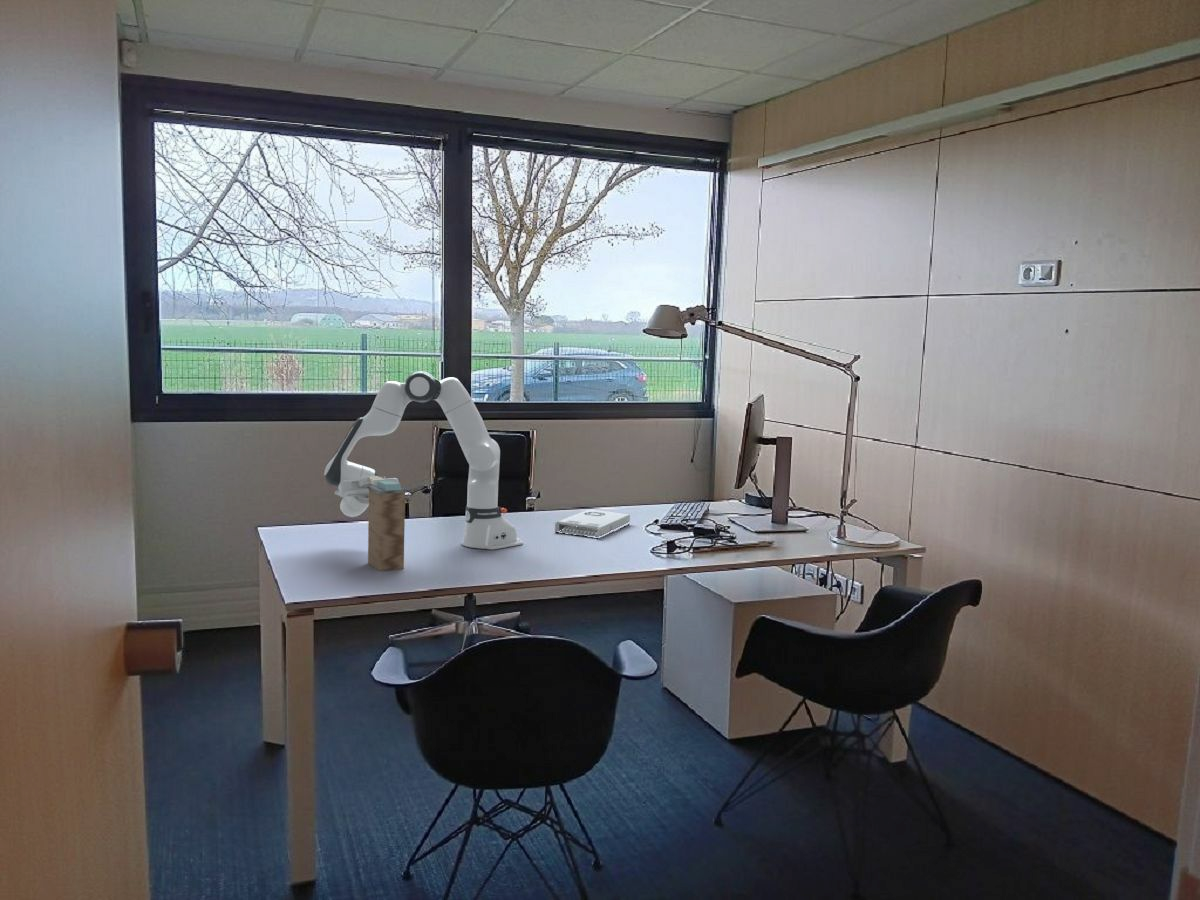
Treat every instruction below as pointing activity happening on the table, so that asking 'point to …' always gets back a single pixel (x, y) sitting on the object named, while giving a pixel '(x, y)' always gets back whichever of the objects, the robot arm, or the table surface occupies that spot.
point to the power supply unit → (592, 523)
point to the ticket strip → (384, 483)
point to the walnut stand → (386, 528)
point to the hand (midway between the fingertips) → (375, 478)
